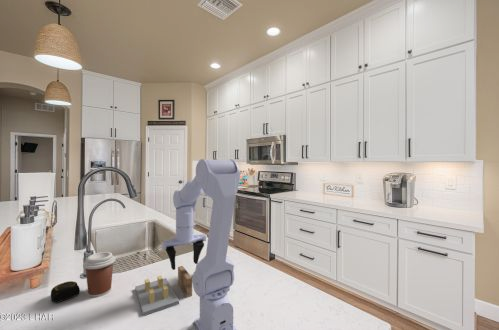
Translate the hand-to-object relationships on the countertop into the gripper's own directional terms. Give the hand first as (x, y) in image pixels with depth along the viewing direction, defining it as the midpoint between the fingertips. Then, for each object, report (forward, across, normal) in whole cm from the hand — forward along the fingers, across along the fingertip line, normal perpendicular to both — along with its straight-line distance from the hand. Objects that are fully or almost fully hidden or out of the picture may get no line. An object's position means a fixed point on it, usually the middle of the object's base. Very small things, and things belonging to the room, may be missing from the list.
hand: (184, 265), depth 78 cm
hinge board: (+8, +9, -1) cm, 12 cm away
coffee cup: (+8, +24, -14) cm, 29 cm away
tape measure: (+8, +33, -16) cm, 37 cm away
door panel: (+8, 0, 0) cm, 8 cm away
